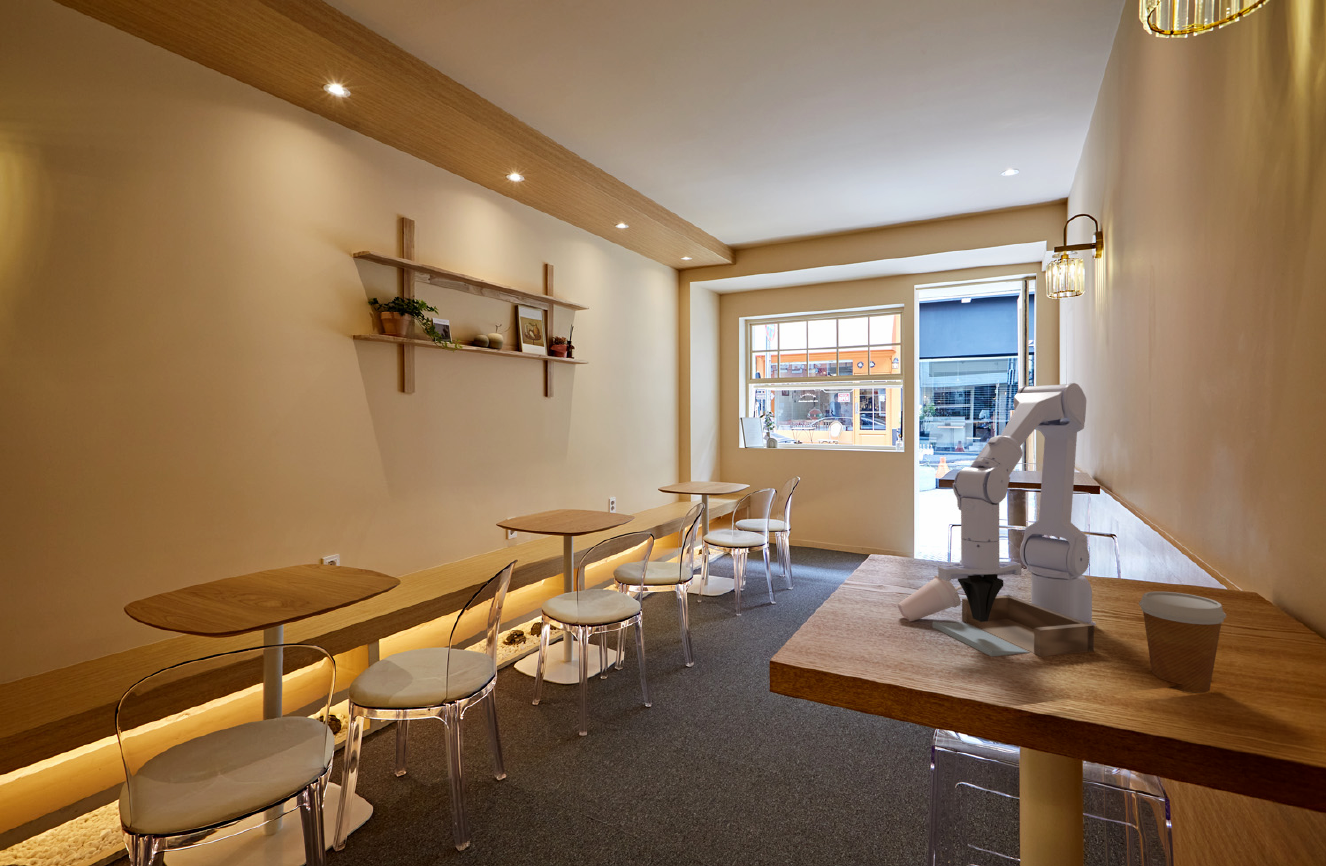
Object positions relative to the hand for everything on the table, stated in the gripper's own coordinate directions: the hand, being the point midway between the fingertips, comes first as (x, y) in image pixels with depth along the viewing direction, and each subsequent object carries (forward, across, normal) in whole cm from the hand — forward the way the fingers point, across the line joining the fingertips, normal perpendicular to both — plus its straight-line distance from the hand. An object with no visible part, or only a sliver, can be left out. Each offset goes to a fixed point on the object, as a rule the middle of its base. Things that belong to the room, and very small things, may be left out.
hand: (980, 619), depth 105 cm
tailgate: (+3, -3, 0) cm, 4 cm away
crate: (+4, -8, 0) cm, 9 cm away
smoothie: (+2, +7, -12) cm, 14 cm away
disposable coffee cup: (+4, -16, +20) cm, 26 cm away
